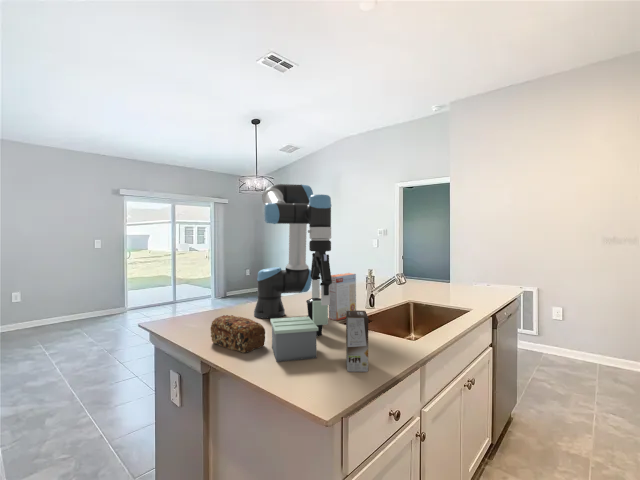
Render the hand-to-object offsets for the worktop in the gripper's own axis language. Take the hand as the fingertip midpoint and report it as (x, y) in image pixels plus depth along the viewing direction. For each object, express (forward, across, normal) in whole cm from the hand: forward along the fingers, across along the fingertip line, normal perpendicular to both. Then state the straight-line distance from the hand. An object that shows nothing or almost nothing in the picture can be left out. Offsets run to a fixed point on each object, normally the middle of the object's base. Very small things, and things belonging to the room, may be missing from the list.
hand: (320, 301), depth 113 cm
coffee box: (+17, +16, +8) cm, 24 cm away
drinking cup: (+17, -18, +2) cm, 25 cm away
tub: (+17, 0, -10) cm, 19 cm away
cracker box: (+17, -41, +21) cm, 49 cm away
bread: (+17, -13, -28) cm, 35 cm away
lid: (+8, 0, -7) cm, 11 cm away
